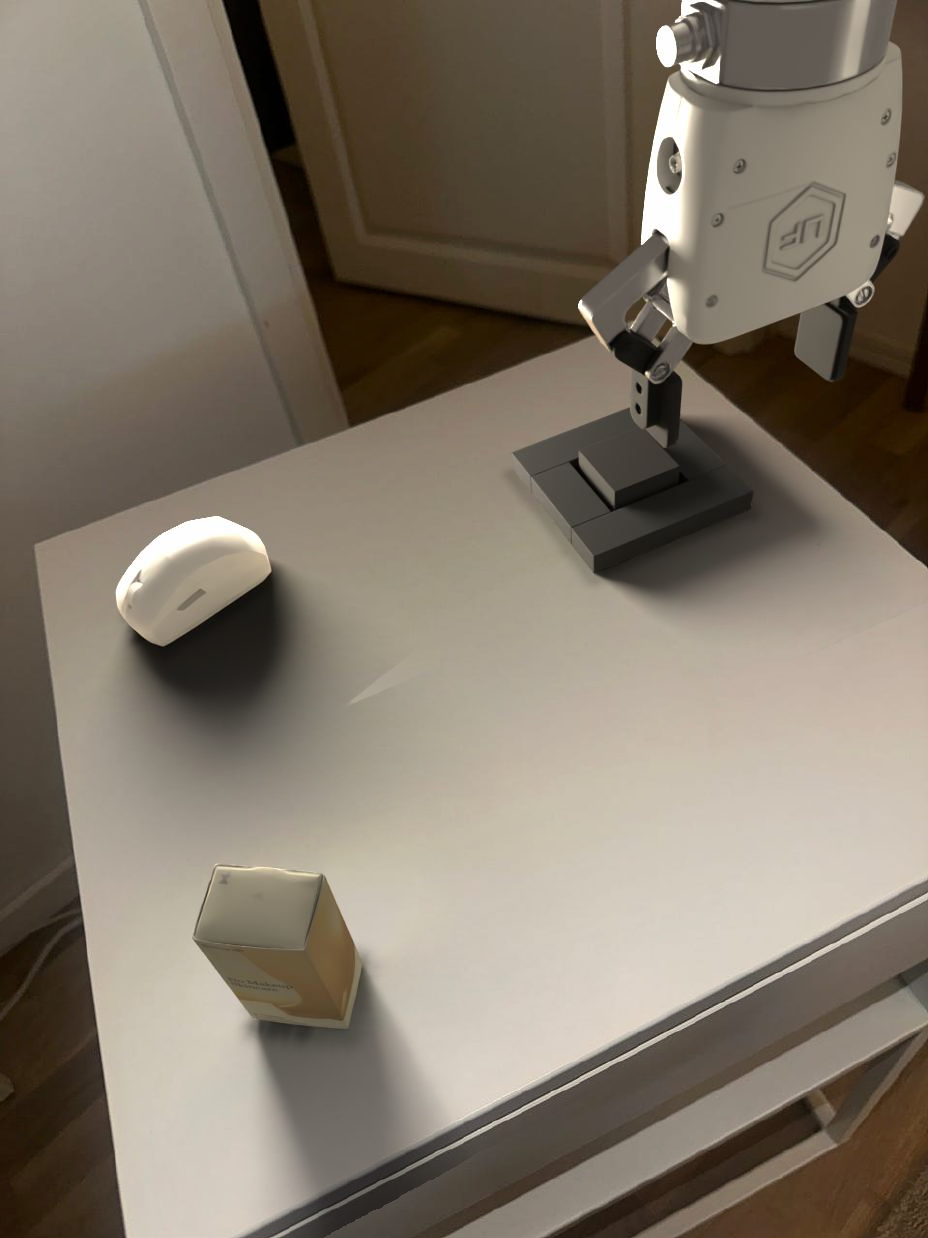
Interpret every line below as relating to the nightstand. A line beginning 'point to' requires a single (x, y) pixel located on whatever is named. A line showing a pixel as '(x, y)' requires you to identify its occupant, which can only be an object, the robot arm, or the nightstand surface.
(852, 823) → the nightstand surface
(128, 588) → the computer mouse
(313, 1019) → the cosmetic box
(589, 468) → the dark grey square block
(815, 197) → the robot arm
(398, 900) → the nightstand surface
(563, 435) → the frame pad
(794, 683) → the nightstand surface
